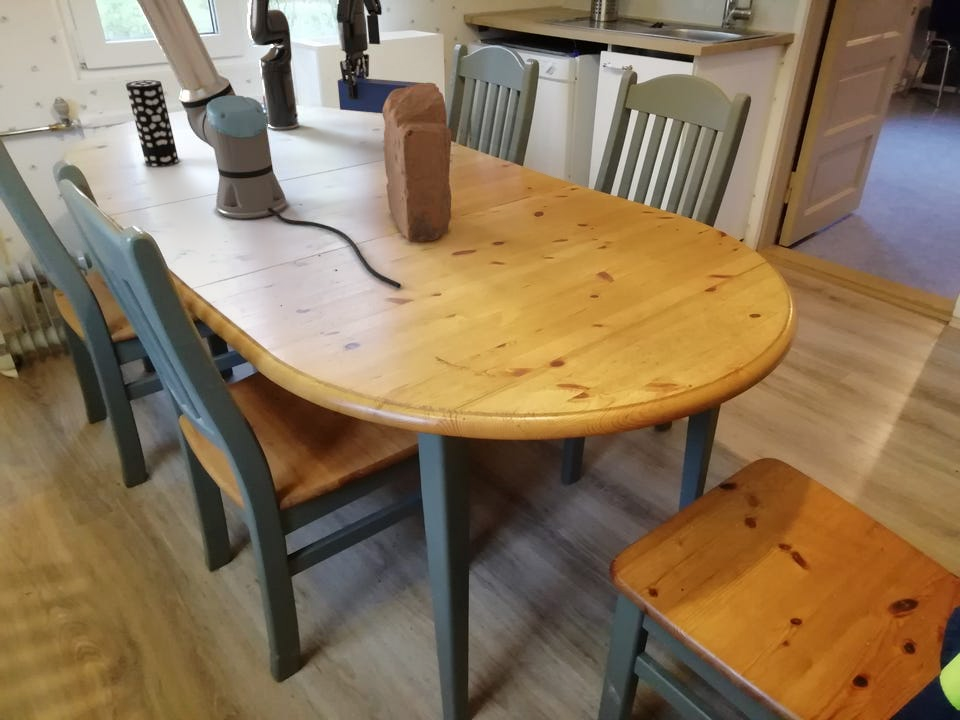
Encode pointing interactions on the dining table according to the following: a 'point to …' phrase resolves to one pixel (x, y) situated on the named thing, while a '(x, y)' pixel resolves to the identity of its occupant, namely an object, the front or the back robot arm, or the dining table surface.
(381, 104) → the bar
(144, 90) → the black spotted cylinder
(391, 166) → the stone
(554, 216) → the dining table surface
